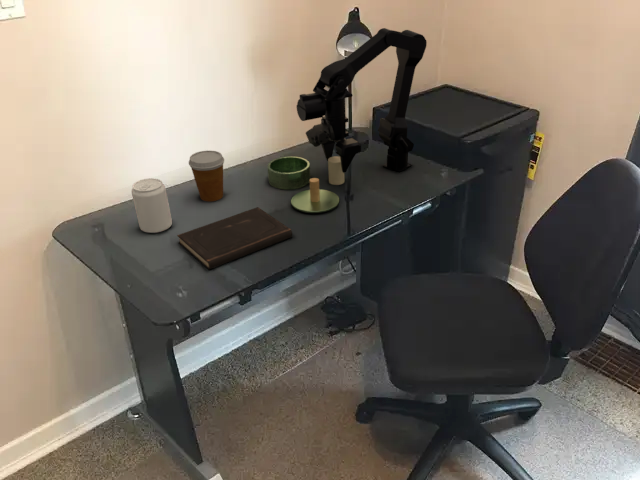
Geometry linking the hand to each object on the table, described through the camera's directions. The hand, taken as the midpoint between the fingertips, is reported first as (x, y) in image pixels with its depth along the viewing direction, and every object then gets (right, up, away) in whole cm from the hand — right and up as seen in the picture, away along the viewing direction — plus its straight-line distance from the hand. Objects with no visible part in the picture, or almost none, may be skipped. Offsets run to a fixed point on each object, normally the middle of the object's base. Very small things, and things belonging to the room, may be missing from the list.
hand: (336, 166), depth 177 cm
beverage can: (-46, -19, -19) cm, 53 cm away
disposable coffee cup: (-35, -10, -5) cm, 36 cm away
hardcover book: (-24, -23, -25) cm, 42 cm away
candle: (0, -4, +3) cm, 5 cm away
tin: (-14, -4, +3) cm, 15 cm away
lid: (-6, -11, -9) cm, 15 cm away
